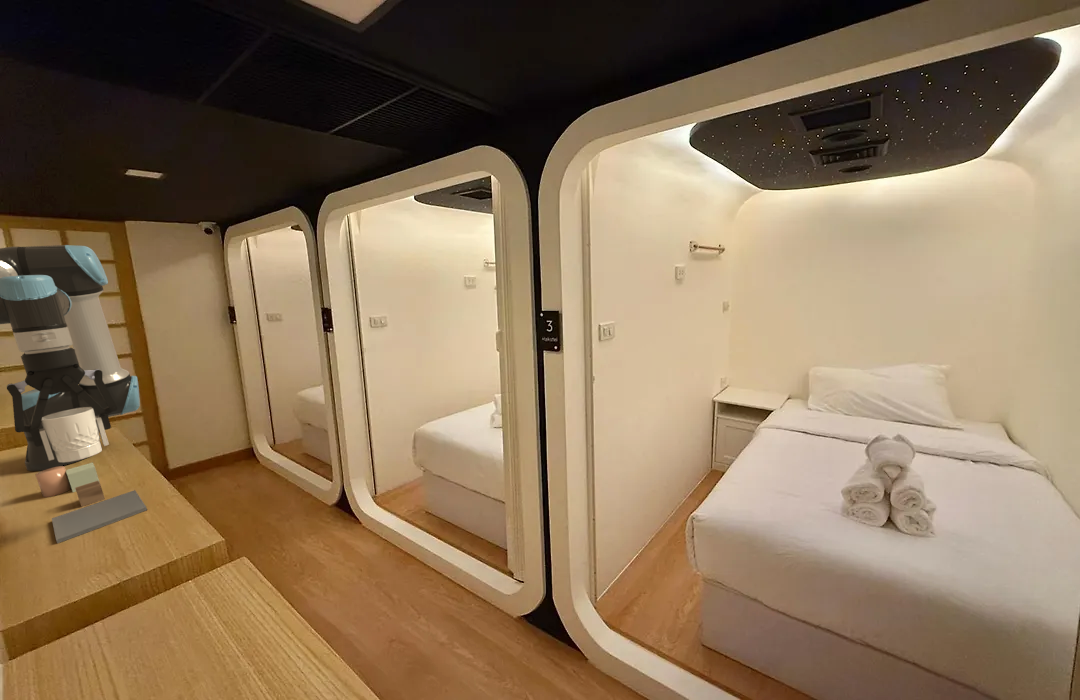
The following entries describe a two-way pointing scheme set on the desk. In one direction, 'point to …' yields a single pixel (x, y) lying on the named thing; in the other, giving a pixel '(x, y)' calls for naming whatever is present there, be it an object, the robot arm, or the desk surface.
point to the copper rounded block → (53, 481)
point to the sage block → (82, 475)
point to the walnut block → (90, 493)
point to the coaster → (97, 515)
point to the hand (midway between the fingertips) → (79, 450)
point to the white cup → (73, 433)
